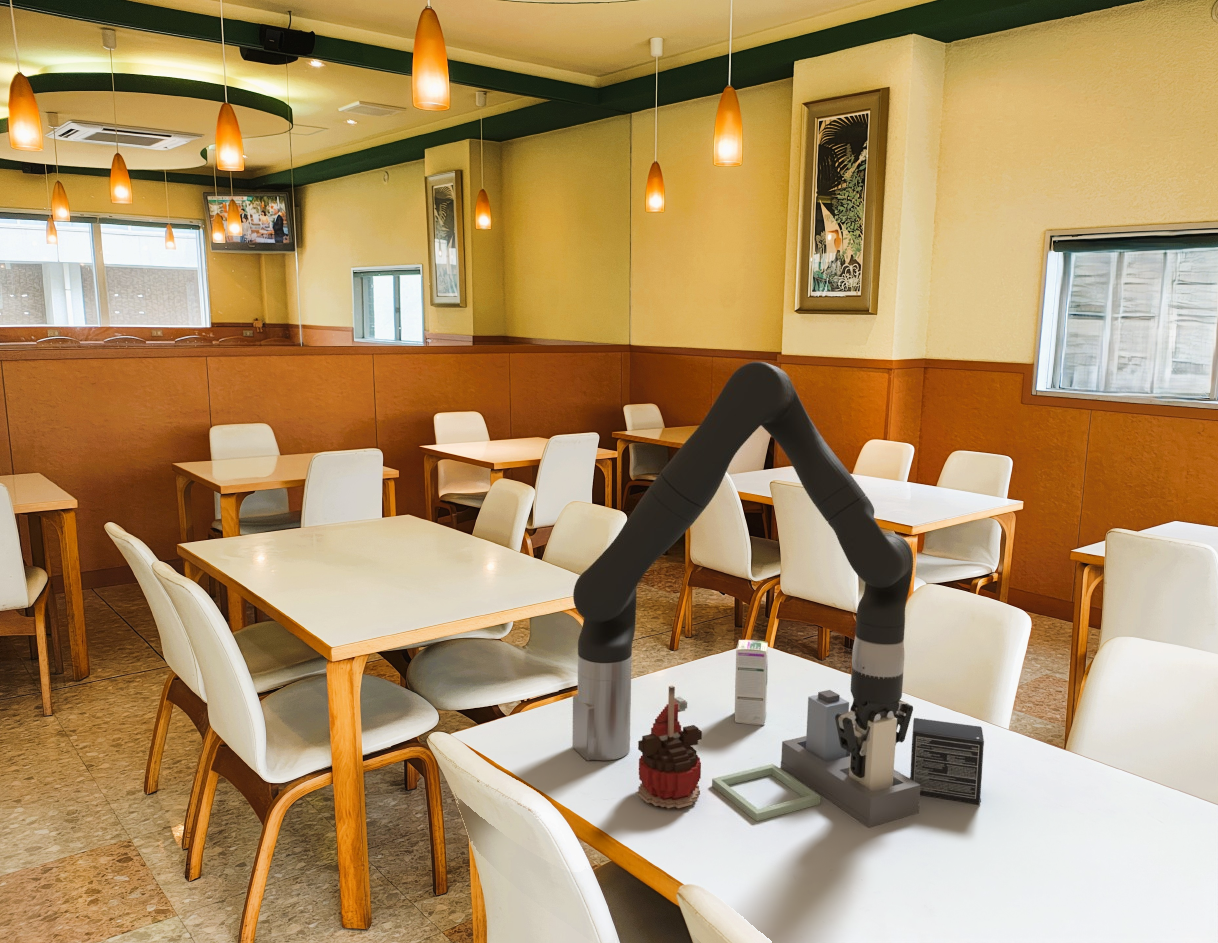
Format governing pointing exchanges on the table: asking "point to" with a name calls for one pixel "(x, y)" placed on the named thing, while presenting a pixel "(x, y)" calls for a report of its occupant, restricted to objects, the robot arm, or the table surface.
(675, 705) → the cake
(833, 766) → the outlet strip
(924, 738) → the small box
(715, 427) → the robot arm
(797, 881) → the table surface
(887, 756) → the plug
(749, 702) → the syrup box
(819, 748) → the blue-grey knobbed block
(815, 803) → the tray frame
